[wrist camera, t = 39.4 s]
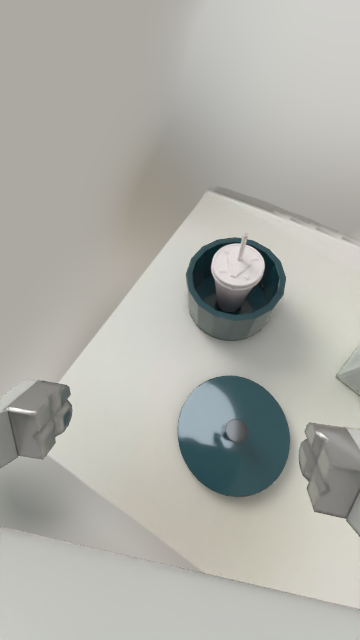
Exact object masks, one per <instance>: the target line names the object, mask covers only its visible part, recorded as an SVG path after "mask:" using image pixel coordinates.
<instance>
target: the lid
mask: <svg viewBox="0 0 360 640" xmlns="http://www.w3.org/2000/svg"><path fill="white" fill-rule="evenodd" d="M178 441H179V447H180V450H181V453H182V456H183V458H184V461H185V463H186V464H187V466H188V468H189V469H190V471H191V472H192V473H193V475H194V476H195V477H196V478H197V479H198V480H199V481H200V482H201V483H203V484H204V485H205V486H206V487H208V488H210V489H211V490H213V491H215V492H218V493H220V494H223V495H227V496H233V497H244V496H250V495H253V494H256V493H259V492H261V491H263V490H264V489H266V488H267V487H269V486H270V485H271V484H272V483H273V482H274V481H275V480H276V479H277V478H278V477H279V475H280V474H281V472H282V470H283V468H284V466H285V464H286V461H287V458H288V454H289V447H290V436H289V429H288V424H287V421H286V418H285V415H284V413H283V411H282V409H281V407H280V406H279V404H278V403H277V401H276V400H275V399H274V397H273V396H272V395H271V394H270V393H269V392H268V391H267V390H265V389H264V388H263V387H262V386H260V385H259V384H257V383H255V382H253V381H251V380H249V379H246V378H243V377H238V376H221V377H216V378H213V379H210V380H208V381H206V382H204V383H202V384H201V385H199V386H198V387H197V388H196V389H195V390H194V391H193V392H192V393H191V394H190V395H189V397H188V398H187V400H186V401H185V403H184V405H183V407H182V410H181V413H180V416H179V421H178Z"/></svg>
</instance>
